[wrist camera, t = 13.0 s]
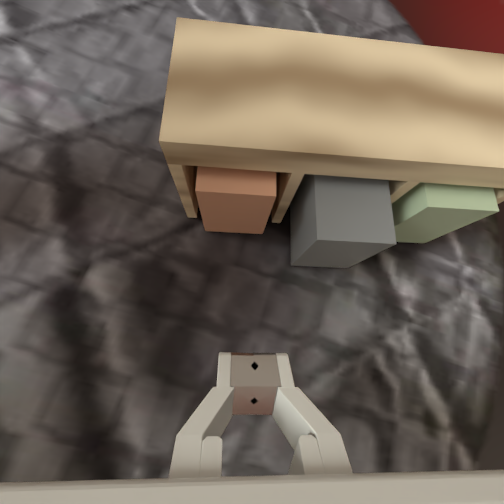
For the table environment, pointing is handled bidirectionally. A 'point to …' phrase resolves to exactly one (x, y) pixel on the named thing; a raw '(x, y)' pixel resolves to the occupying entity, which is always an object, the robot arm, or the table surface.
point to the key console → (329, 110)
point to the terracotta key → (235, 199)
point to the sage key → (440, 210)
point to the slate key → (340, 220)
